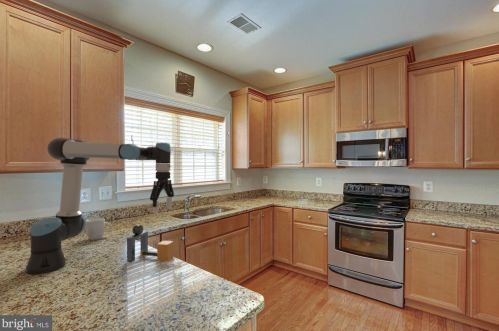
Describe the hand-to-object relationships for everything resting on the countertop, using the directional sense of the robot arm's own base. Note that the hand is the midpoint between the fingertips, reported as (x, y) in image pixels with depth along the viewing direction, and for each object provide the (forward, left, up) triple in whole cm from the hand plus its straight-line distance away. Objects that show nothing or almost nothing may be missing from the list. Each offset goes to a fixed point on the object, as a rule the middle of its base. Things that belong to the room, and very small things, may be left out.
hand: (162, 210), depth 133 cm
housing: (0, +15, -26) cm, 30 cm away
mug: (+25, +63, -26) cm, 73 cm away
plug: (0, +4, -26) cm, 26 cm away
